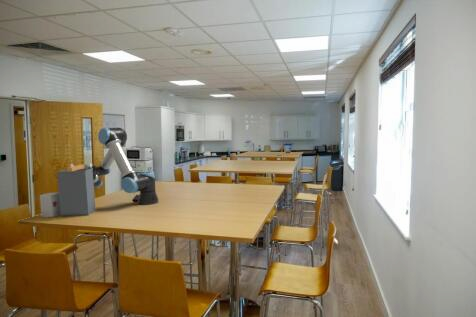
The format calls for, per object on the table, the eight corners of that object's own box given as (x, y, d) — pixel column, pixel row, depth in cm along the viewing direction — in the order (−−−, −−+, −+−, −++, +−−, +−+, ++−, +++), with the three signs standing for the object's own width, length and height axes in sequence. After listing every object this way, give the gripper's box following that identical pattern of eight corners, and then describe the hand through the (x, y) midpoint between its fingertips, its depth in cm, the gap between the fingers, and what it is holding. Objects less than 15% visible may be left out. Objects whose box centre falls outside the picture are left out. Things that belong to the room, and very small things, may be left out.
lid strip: (86, 167, 238) (86, 164, 238) (72, 171, 214) (71, 167, 214) (82, 167, 238) (82, 164, 238) (67, 171, 214) (67, 167, 214)
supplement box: (52, 217, 217) (50, 195, 216) (41, 217, 219) (39, 195, 217) (62, 214, 226) (60, 192, 224) (51, 213, 227) (49, 192, 226)
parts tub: (95, 210, 232) (92, 168, 229) (88, 215, 219) (85, 170, 216) (69, 212, 231) (65, 169, 228) (60, 216, 218) (56, 171, 215)
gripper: (107, 180, 250) (97, 168, 230) (74, 181, 248) (61, 170, 229) (108, 171, 253) (98, 159, 233) (75, 172, 251) (63, 160, 232)
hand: (80, 164), depth 231 cm, fingers open, 12 cm apart
